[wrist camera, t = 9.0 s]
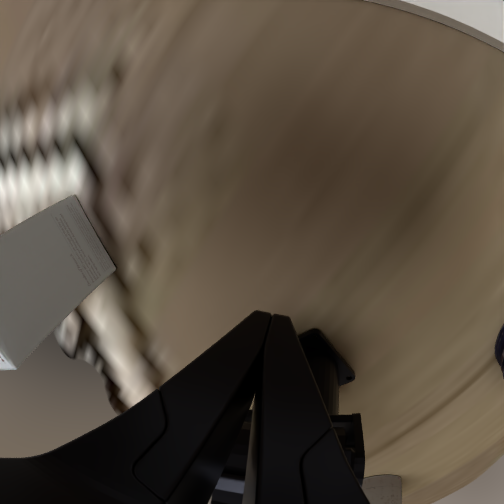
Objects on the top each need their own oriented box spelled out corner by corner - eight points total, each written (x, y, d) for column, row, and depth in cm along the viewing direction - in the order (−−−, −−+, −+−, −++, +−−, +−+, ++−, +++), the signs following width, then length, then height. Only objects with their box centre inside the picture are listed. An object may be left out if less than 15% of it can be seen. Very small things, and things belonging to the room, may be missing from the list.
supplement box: (75, 191, 21) (-52, 266, 10) (119, 269, 24) (18, 375, 13) (36, 224, 24) (-62, 293, 13) (74, 289, 26) (-10, 373, 15)
